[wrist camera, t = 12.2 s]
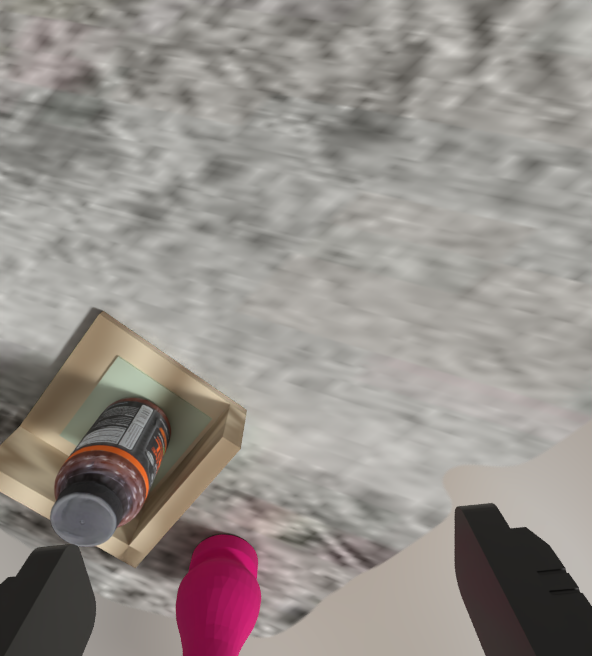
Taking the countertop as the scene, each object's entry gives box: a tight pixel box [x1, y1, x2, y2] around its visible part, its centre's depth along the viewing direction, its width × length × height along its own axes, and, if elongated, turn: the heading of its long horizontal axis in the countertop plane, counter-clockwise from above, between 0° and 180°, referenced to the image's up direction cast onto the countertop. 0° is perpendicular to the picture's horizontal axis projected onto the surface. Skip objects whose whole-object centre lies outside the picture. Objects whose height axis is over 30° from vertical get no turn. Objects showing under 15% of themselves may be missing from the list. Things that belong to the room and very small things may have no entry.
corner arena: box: [0, 311, 247, 568], centre depth 38 cm, size 14×14×6 cm
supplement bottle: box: [50, 398, 171, 547], centre depth 34 cm, size 6×6×11 cm
